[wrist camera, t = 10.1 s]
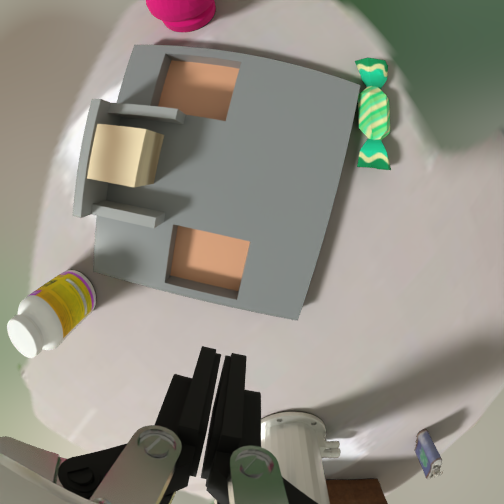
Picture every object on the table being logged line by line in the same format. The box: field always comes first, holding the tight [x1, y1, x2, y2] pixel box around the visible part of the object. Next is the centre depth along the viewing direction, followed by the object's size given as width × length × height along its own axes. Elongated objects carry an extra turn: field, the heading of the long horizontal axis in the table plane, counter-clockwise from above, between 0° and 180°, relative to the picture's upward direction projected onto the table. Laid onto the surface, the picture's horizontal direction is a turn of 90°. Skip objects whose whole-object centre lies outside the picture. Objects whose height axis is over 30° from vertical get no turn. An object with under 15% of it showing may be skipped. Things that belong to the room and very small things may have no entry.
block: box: [87, 124, 164, 187], centre depth 24 cm, size 5×5×5 cm
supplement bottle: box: [7, 270, 96, 358], centre depth 28 cm, size 7×7×13 cm
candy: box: [355, 58, 391, 170], centre depth 26 cm, size 12×3×4 cm
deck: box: [73, 45, 360, 321], centre depth 26 cm, size 24×26×8 cm
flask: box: [414, 429, 443, 479], centre depth 38 cm, size 9×3×11 cm, turn 18°
